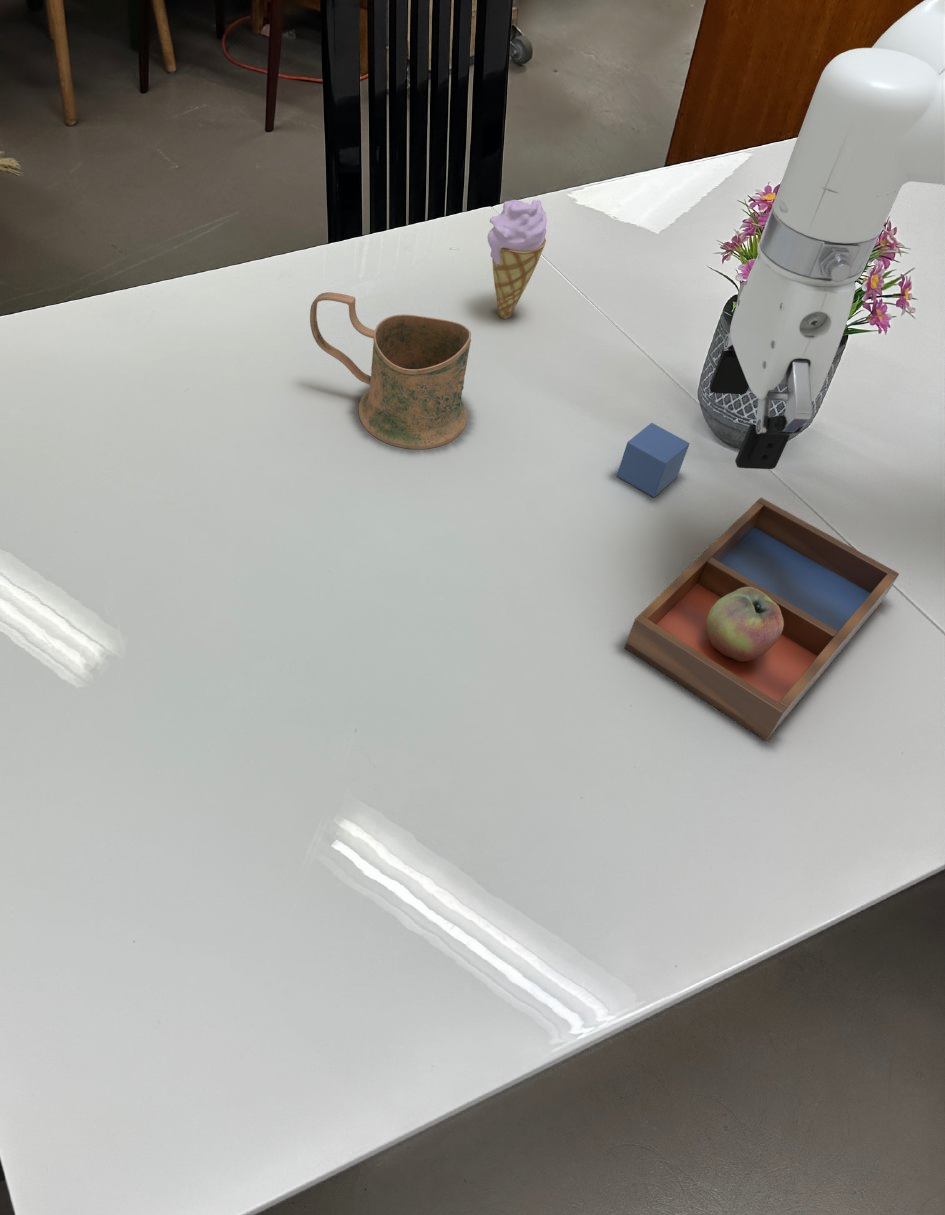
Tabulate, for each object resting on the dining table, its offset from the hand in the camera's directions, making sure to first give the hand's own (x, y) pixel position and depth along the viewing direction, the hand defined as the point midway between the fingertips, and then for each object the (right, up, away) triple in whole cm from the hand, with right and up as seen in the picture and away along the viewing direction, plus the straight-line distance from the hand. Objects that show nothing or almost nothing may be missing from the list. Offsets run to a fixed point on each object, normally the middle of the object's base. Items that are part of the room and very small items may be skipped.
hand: (740, 427), depth 91 cm
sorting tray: (+4, -17, +7) cm, 19 cm away
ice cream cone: (-14, +20, +38) cm, 45 cm away
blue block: (-2, -2, +20) cm, 20 cm away
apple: (+1, -19, +4) cm, 19 cm away
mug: (-29, +6, +26) cm, 39 cm away
